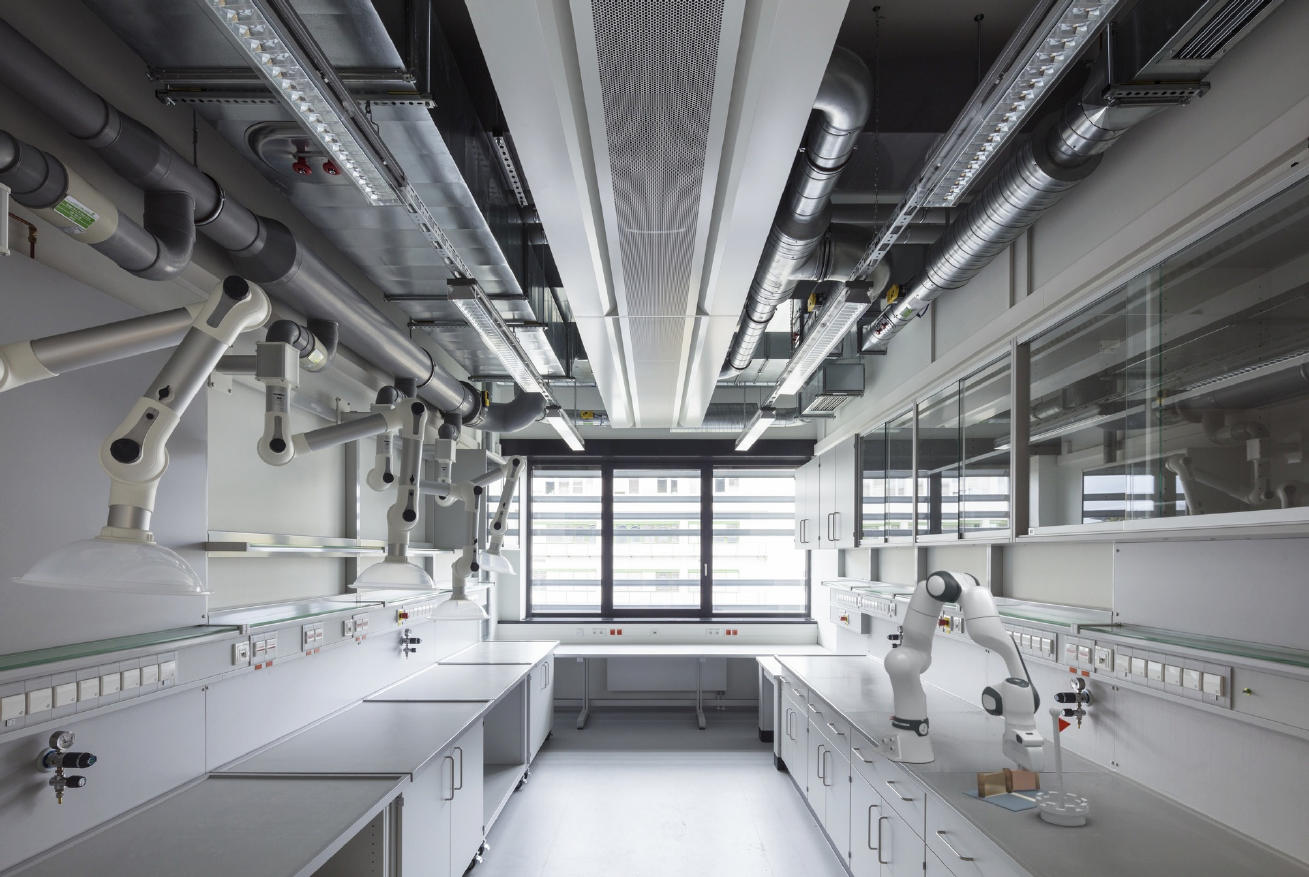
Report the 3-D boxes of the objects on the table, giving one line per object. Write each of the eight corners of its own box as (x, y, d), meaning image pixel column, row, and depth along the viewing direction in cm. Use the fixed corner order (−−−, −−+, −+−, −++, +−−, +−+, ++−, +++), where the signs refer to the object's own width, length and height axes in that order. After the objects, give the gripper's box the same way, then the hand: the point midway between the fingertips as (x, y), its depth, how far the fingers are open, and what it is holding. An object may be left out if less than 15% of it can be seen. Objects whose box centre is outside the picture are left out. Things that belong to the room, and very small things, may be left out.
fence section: (1010, 788, 240) (1009, 768, 241) (1037, 787, 241) (1036, 767, 242) (1014, 790, 239) (1012, 769, 239) (1041, 788, 240) (1039, 768, 240)
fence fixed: (976, 795, 235) (975, 772, 236) (1007, 789, 241) (1005, 767, 242) (982, 797, 233) (981, 774, 234) (1013, 791, 239) (1011, 769, 240)
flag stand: (1061, 829, 208) (1052, 712, 212) (1026, 813, 221) (1018, 703, 225) (1101, 824, 212) (1092, 709, 216) (1064, 809, 224) (1056, 700, 228)
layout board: (962, 792, 239) (962, 791, 239) (1016, 782, 249) (1016, 781, 249) (1015, 811, 222) (1015, 810, 222) (1070, 799, 232) (1070, 798, 232)
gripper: (995, 724, 255) (998, 769, 253) (1026, 741, 234) (1029, 789, 233) (1015, 724, 255) (1017, 769, 253) (1047, 740, 234) (1050, 789, 233)
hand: (1023, 779), depth 243 cm, fingers closed
